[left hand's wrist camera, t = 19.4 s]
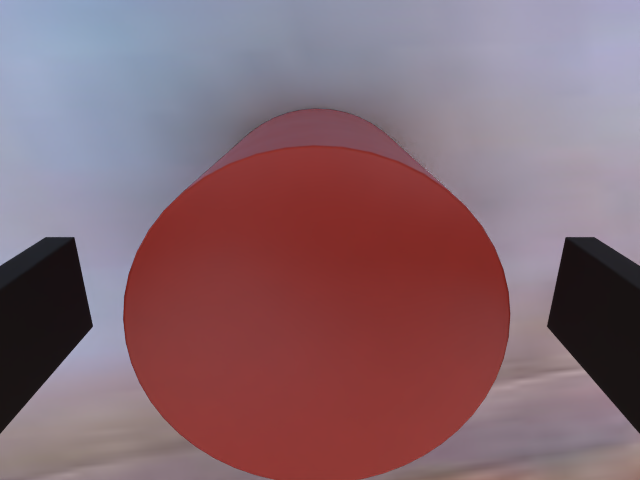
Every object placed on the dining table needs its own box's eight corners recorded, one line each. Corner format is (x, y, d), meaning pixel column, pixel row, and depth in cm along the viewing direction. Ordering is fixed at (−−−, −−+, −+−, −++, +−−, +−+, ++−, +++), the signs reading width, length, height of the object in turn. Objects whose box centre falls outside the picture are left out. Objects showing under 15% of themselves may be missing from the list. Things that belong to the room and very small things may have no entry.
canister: (319, 340, 22) (320, 534, 13) (172, 216, 20) (45, 343, 10) (462, 213, 20) (589, 336, 10) (315, 58, 17) (312, 43, 8)
